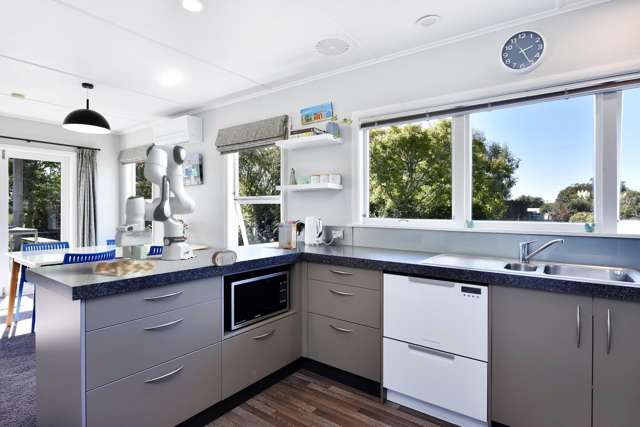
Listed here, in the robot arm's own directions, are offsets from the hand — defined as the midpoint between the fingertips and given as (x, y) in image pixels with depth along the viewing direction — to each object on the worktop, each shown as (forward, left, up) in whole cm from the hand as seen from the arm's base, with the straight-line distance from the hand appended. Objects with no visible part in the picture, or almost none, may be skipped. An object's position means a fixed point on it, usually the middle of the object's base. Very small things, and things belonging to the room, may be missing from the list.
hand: (134, 254), depth 175 cm
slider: (0, 0, -2) cm, 2 cm away
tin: (-29, +34, -8) cm, 45 cm away
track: (+5, 0, -8) cm, 9 cm away
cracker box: (-123, +29, -8) cm, 126 cm away
